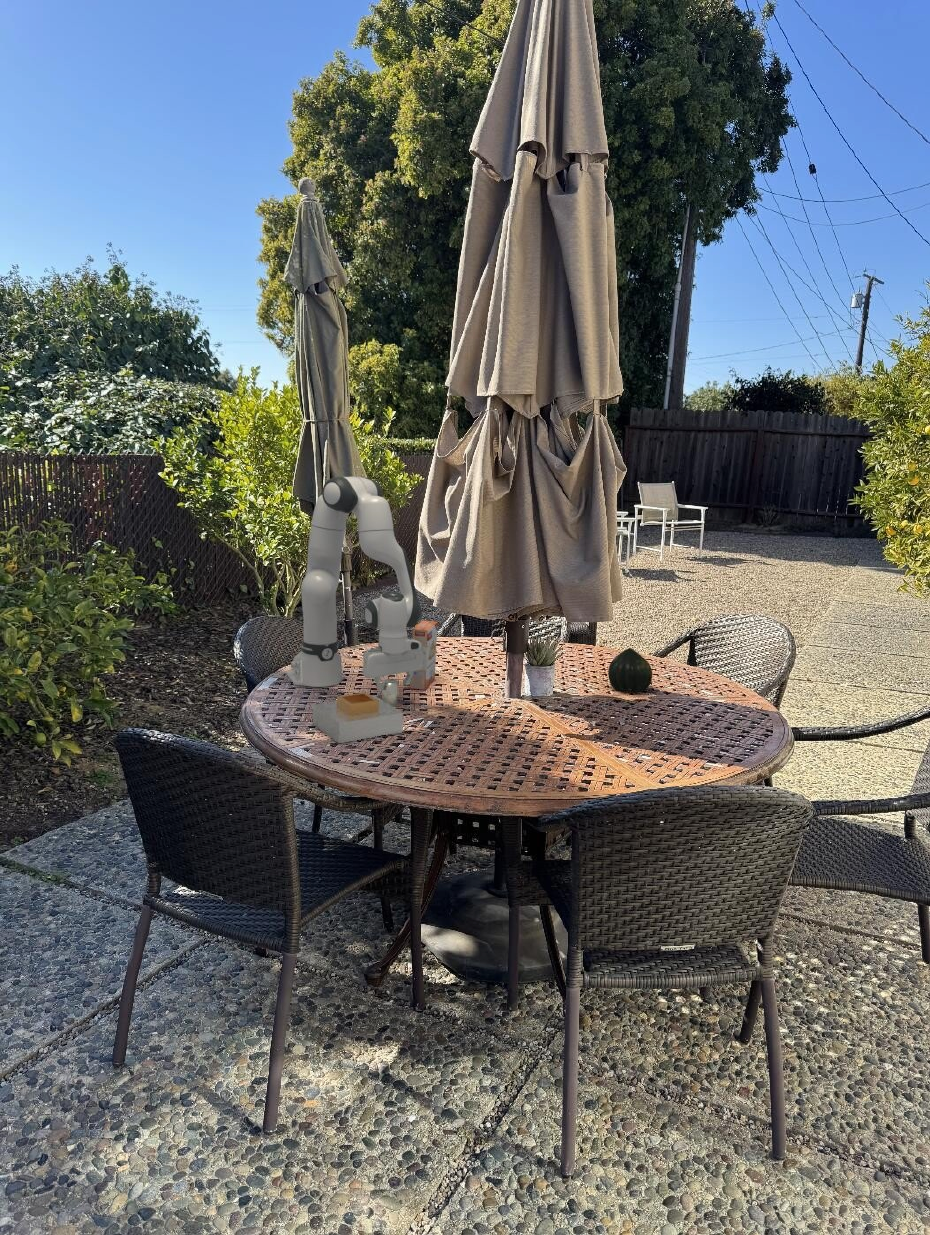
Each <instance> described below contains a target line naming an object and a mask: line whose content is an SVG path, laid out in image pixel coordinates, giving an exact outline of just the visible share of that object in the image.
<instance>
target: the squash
mask: <svg viewBox="0 0 930 1235" xmlns="http://www.w3.org/2000/svg"><path fill="white" fill-rule="evenodd" d="M607 673H608V674H607V676H608V680H609V683H610V686H611V687H612V689H614V690H617V691H618V692H619V691H627V690H628V691H631V692H632V693H634V694H640V693H642V692H643V691H646V689H648V688H649V687H650V686H651V683H652V681H653V669H652V667H651V664H650V663H649V661H648V660H647V659H646V658H644V657H643V656H642V655H641V654H640V653H638V652H637V651H636V650H634V649H633V648H631V647H629V648H627V649H624V650H623V651H621V652H620V653H619V654H617V655H616V656H615V657H614V658H613V660H612V661H610V663H609V667H608V672H607Z"/></svg>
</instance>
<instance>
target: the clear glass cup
mask: <svg viewBox="0 0 930 1235" xmlns="http://www.w3.org/2000/svg"><path fill="white" fill-rule="evenodd" d="M381 684H383V686H384V687H383V688H384V689H383V690H381V700H383V701H385V702H386V703H388V704H390V705H391V706H393V707H395V708H397V707H398V699H399V698H398V697H399V694H398V693H399V690H398V689H399V680H397V679H393V678H386V679H382V680H381ZM396 706H397V707H396Z"/></svg>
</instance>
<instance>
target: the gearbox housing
mask: <svg viewBox="0 0 930 1235" xmlns="http://www.w3.org/2000/svg"><path fill="white" fill-rule="evenodd" d="M312 726H315V727H316V728H317V729H318V730H320V731H321V732H323V733H324V734H325V735H326V734H327V735H326V736H328V737H329V738H330V739H332V740H333V741H335V743H337V742H338V743H342V744H345V743H344V742H348V743H350V742H349V741H353V742H357V740H359V741H362V740H361V739H364V740H367V739H366V738H370V739H372V738H371V737H375V736H376V737H375V738H378V737H377V736H381V735H386V736H389V735H388V734H392V735H396V734H403V733H402V732H404V731H403V730H404V727H403V726H404V712H403V711H401V710H399V708H397V707H395V708H394V707H393V706H391V705H390V704H388V703H386V702H385V701H383V700H382V698H380V697H378V696H376V695H370V694H368V692H365V691H364V692H358V693H351V694H344V695H337V696H336V700H334V701H327V702H321V703H314V704H312ZM381 737H382V736H381ZM338 743H337V744H338Z"/></svg>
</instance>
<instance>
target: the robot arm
mask: <svg viewBox="0 0 930 1235" xmlns="http://www.w3.org/2000/svg"><path fill="white" fill-rule="evenodd" d="M391 511H392V510H391V508H390V504H389V501H388V499H386V498H385V497H383V489H382V487H381V485H380V484H379V483H378V482H377V481H376V480H374V479H372V478H369V477H361V476H354V475H353V476H352V475H351V476H334V477H332V478H330V479H328V480H327V481H326V482H325V483H324V484H323V487H322V491H321V495H320V496H318V498H317V500H316V503H315V506H314V510H313V512H312V513H313V514H312V517H311V518H312V519H311V524H310V532H309V539H308V545H307V546H308V547H307V565H306V573H305V576H304V577H303V579H302V582H301V606H302V616H303V619H302V620H303V639H301V646H300V651H299V652H298V653H297V655H295V656H294V657H293V660H292V661H291V662H290V667H291V668H290V669H287V670H286V672H285V674H286V675H287V677H288V678H289V679H290V681H291V683H292V682H293V683H292V685H294V686H305V687H313V688H314V687H317V688H319V687H320V688H321V687H322V688H325V687H331V686H336V685H339V684H340V683H342V681H343V680H345V679H346V678H347V677H346V674H344V673H343V664H342V662H343V661H342V656H341V654H339V653H338V651H339V640H338V639H337V636H338V635H337V634H338V633H337V632H338V622H337V621H338V617H337V602H336V601H337V599H336V598H337V597H336V596H337V595H336V594H337V589H338V587H339V581H340V575H341V565H342V557H343V555H342V554H343V553H342V552H343V548H344V541H345V535H346V534H345V533H346V525H347V518H348V516H349V514H350V513H353V514H354V515H355V517H356V520H357V523H358V524H357V525H358V526H357V528H358V530H357V532H358V541H359V546H360V549H361V551H362V552H363V554H365V555H366V556H367V557H369V559H372V560H375V561H378V562H380V563H384V564H386V565H388V566H390V567H391V568H392V569H393V570H394V572H395V574H396V580H397V583H398V586H399V588H398V589H399V591H400V592H398V591H392V590H391V591H385V592H383V593H381V594H380V596H379V597H378V598H374V599H371V600H369V601H368V602H367V603H366V605H365V606H364V609H363V616H364V617H363V618H364V619H363V620H364V622H365V624H366V625H367V626H368V627H370V628H371V629H373V630H374V629H375V630H379V631H380V632H379V631H378V642H379V647H378V646H376V647H375V646H374V647H369V648H367V649H366V650H365V651H364V652H363V654H362V655H363V656H362V660H363V664H362V672H361V673H362V675H363V676H364V677H365V678H367V679H369V680H370V679H373V681H374V683H375V684H376V690H377V691H382V690H383V689H384V688H383V687H384V686H383V684H382V682H380V681H381V677H387V676H392V675H399V674H406V676H405V678H403V679H402V685H403V686H406V687H407V686H410V679H411V677H412V675H413V671H417V670H421V669H422V667H423V653H422V650H421V649H420V648H421V647H422V644H421V642H419V641H417V640H414V639H412V637H411V638H410V637H408V638H407V631H408V630H407V628H414V627H415V626H417V625H418V624H419V623H420V622H421V619H422V617H423V609H422V607H421V606H422V605H421V603H420V600H419V598H418V594H417V591H416V587H415V582H414V578H413V574H412V569H411V565H410V561H409V559H408V555H407V553H406V550H405V548H404V547H402V546H400V545H399V543H398V541H397V539H396V536H395V531H394V522H393V516H392V512H391ZM406 630H407V631H406Z"/></svg>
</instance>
